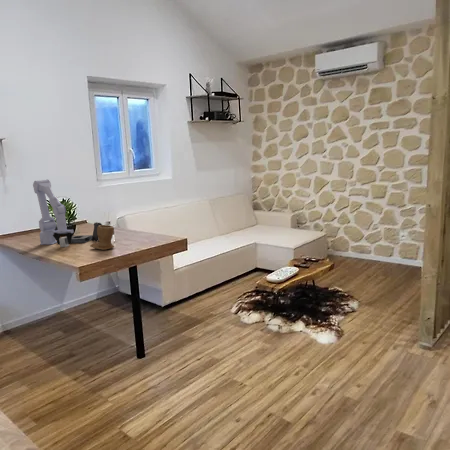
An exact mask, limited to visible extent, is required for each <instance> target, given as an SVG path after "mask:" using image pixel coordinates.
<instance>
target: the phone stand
mask: <svg viewBox="0 0 450 450" xmlns="http://www.w3.org/2000/svg"><path fill="white" fill-rule="evenodd" d="M99 225H103V224H102V223H101V222H97V221H96V222H94V223H93V226H94V227H93V232H92V240H91V241H94V242H99V238H98V235H97V227H98V226H99Z"/></svg>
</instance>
